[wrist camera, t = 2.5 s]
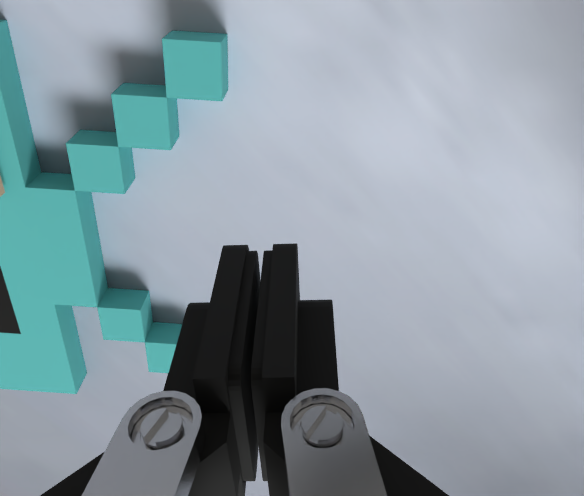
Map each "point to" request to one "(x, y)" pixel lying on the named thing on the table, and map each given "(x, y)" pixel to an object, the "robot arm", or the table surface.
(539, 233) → the table surface
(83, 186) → the alien figure
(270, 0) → the table surface
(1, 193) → the terracotta tile
